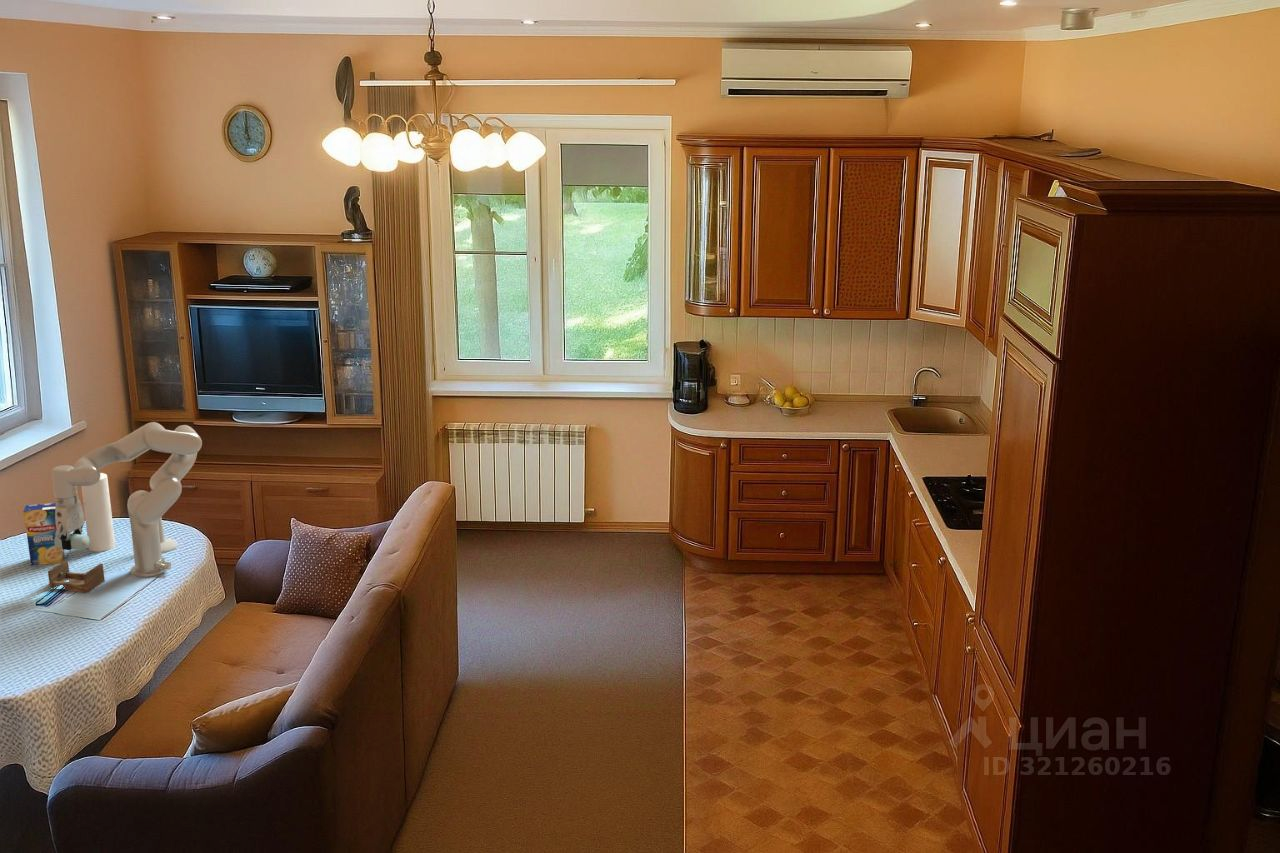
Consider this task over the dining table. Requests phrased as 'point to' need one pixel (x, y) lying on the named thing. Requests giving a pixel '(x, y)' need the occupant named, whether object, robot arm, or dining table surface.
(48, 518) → the beverage box
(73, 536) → the roll
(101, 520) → the cylinder container
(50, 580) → the holder
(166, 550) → the candlestick
